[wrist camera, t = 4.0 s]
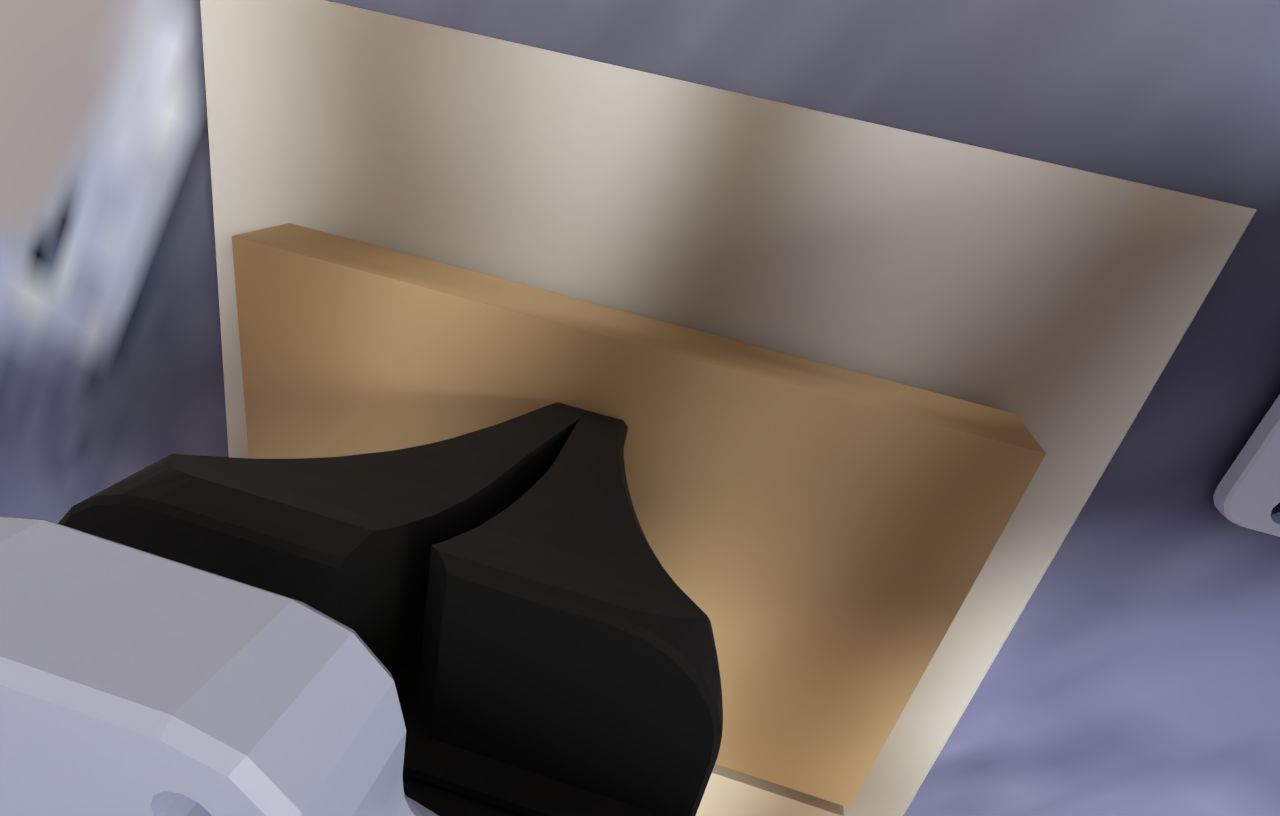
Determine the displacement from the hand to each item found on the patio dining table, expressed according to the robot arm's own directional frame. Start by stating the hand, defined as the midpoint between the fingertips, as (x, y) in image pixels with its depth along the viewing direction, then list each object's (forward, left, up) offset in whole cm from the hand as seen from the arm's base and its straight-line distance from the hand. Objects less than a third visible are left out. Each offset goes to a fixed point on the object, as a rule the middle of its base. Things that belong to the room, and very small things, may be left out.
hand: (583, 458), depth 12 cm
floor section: (0, +3, -2) cm, 4 cm away
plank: (0, +2, -1) cm, 2 cm away
